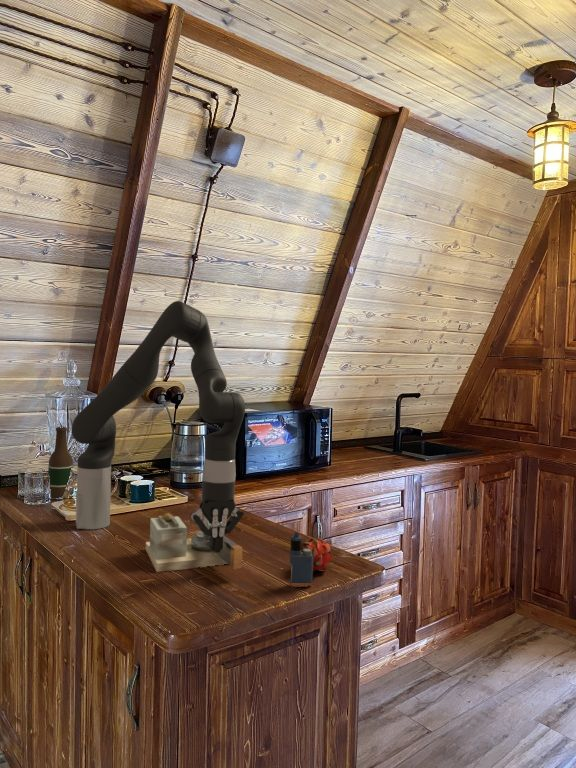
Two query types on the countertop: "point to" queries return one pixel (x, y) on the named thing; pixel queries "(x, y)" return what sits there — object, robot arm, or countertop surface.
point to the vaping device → (300, 561)
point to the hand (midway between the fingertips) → (215, 551)
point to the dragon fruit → (318, 552)
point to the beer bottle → (59, 464)
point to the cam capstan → (228, 553)
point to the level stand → (175, 546)
